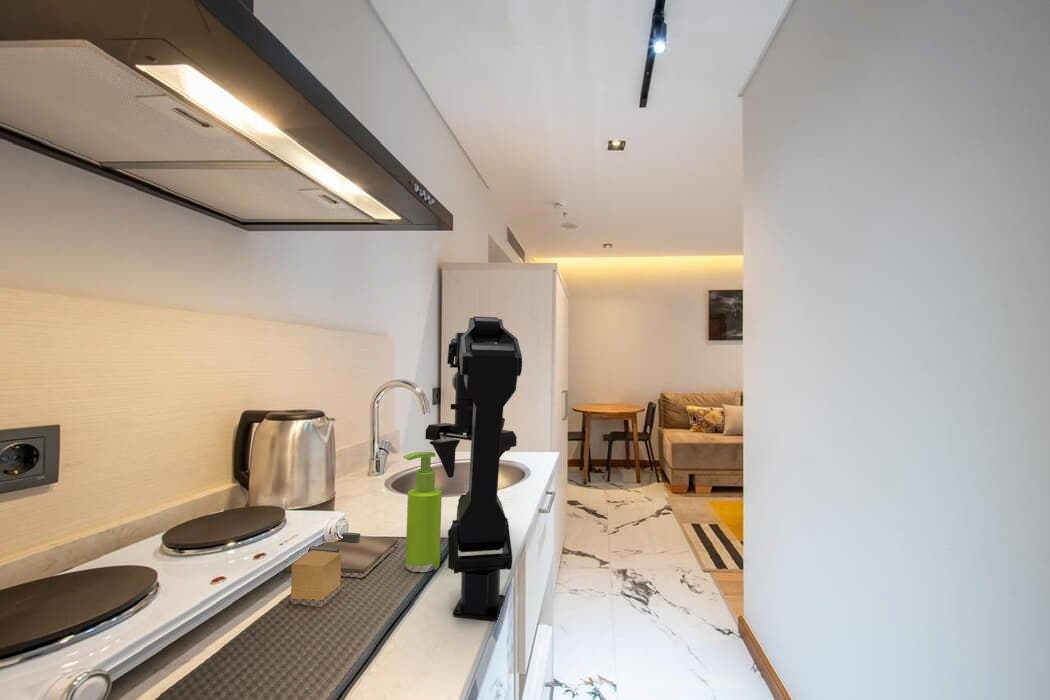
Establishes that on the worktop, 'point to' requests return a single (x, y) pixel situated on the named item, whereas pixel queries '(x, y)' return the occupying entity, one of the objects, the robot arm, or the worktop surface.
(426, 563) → the soap dispenser
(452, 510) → the worktop surface
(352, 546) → the dock
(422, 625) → the worktop surface
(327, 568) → the block
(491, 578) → the robot arm
